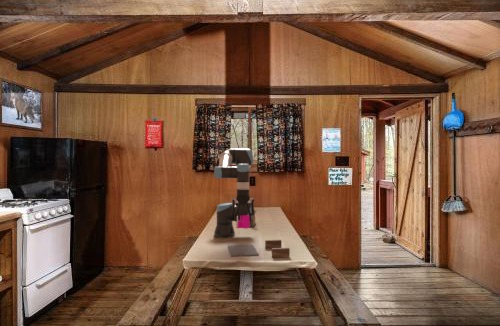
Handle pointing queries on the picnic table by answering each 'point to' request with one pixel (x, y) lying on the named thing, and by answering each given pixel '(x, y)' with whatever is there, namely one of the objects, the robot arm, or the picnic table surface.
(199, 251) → the picnic table surface
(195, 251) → the picnic table surface
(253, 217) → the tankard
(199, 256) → the picnic table surface
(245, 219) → the toy block
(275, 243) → the block
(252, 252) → the slate mat
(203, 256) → the picnic table surface
